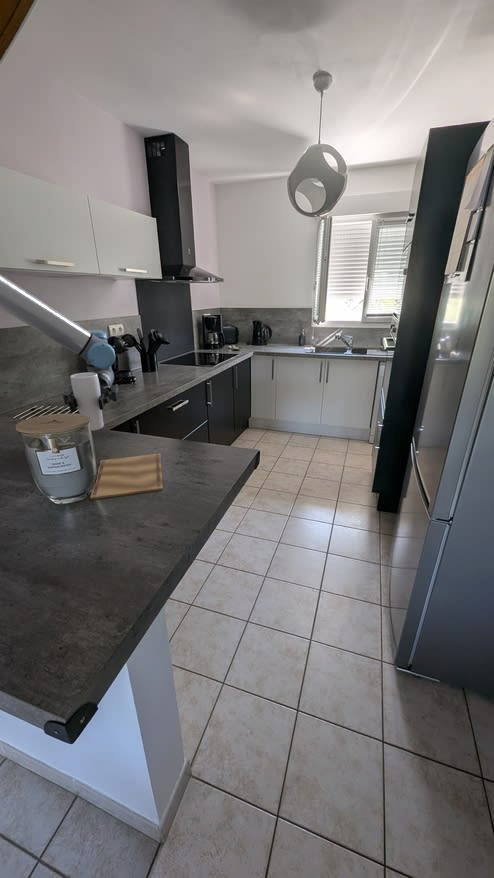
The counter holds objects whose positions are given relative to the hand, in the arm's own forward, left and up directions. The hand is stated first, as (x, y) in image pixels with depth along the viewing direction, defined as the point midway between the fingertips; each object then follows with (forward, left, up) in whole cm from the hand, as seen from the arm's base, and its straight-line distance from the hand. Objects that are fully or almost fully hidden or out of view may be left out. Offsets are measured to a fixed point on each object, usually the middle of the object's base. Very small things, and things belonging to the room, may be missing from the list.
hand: (86, 405), depth 92 cm
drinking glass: (-5, 0, -8) cm, 10 cm away
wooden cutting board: (+10, +9, -16) cm, 21 cm away
